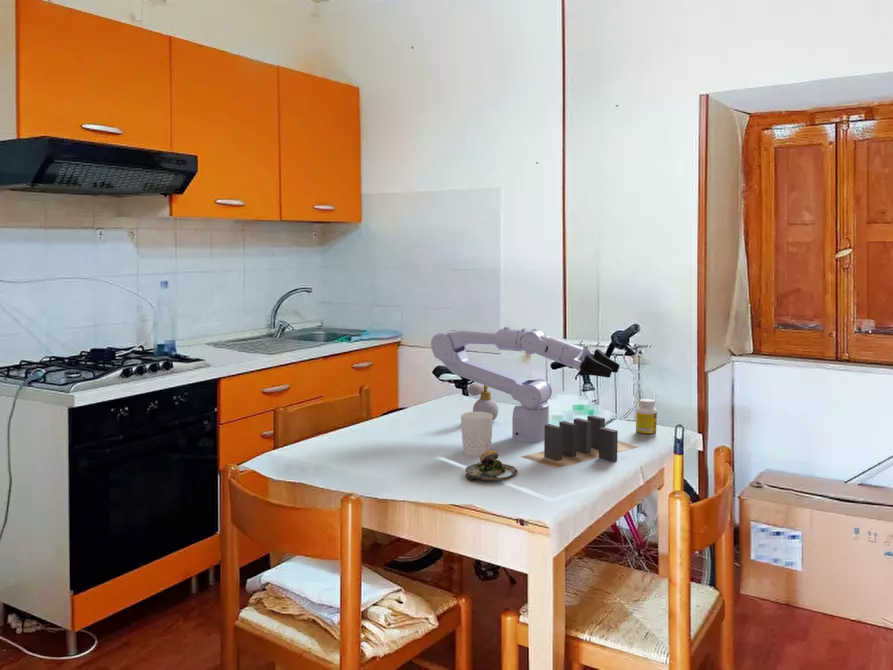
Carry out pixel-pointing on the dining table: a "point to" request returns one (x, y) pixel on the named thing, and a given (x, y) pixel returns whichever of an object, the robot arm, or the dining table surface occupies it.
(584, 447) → the domino
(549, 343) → the robot arm
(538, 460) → the oak board
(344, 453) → the dining table surface
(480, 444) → the white cup
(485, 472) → the burger
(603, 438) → the domino
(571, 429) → the domino
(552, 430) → the domino
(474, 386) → the perfume bottle
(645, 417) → the supplement bottle
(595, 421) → the domino
